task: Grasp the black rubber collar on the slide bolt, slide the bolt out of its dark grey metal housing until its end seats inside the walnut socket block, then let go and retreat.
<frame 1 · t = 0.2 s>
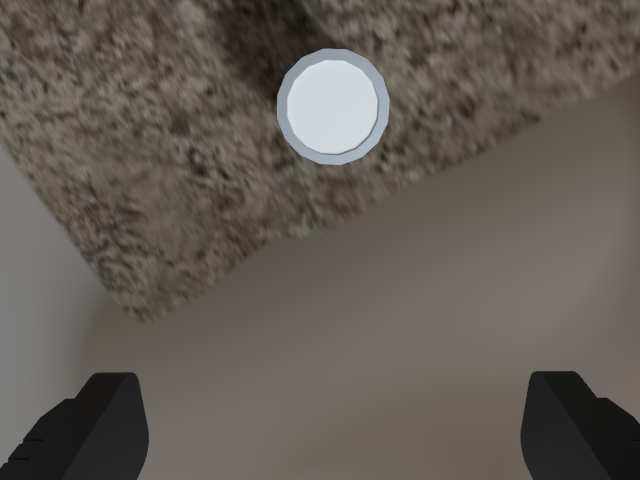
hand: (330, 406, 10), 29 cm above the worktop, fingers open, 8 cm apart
shot glass: (332, 99, 35), on the worktop
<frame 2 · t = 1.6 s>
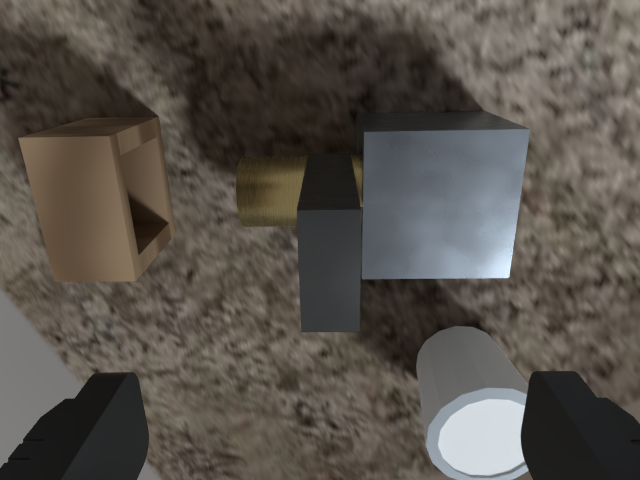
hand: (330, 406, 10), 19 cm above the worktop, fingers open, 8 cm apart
shot glass: (457, 359, 32), on the worktop
housing: (416, 174, 27), on the worktop
socket block: (133, 178, 28), on the worktop
slide bolt: (375, 215, 21), point 7 cm above the worktop, slide at 0.0 cm
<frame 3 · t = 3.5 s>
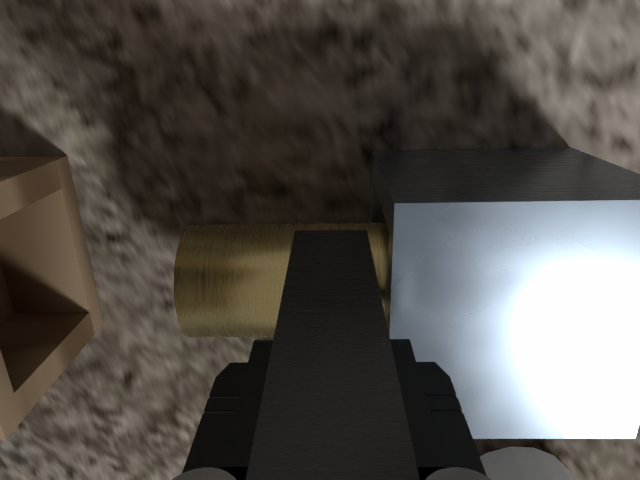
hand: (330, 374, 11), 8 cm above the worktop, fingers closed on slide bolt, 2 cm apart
housing: (461, 240, 18), on the worktop
socket block: (35, 246, 19), on the worktop
slide bolt: (414, 351, 12), point 7 cm above the worktop, slide at 0.0 cm, touching gripper
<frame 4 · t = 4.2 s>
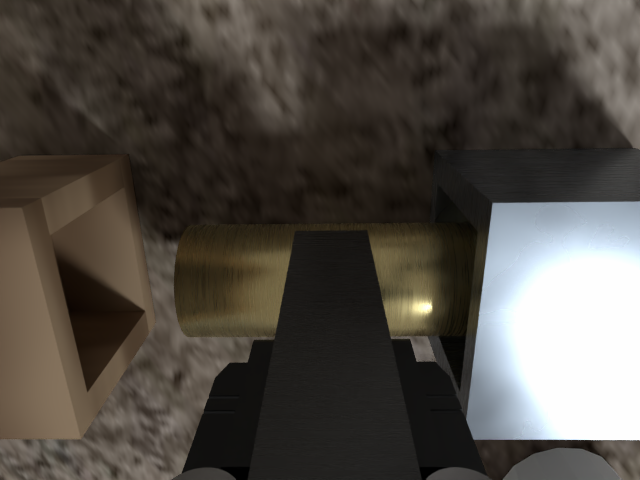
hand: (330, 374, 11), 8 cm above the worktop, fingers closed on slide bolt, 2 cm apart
housing: (520, 241, 18), on the worktop
socket block: (92, 244, 18), on the worktop
slide bolt: (414, 351, 12), point 7 cm above the worktop, slide at 2.2 cm, touching gripper
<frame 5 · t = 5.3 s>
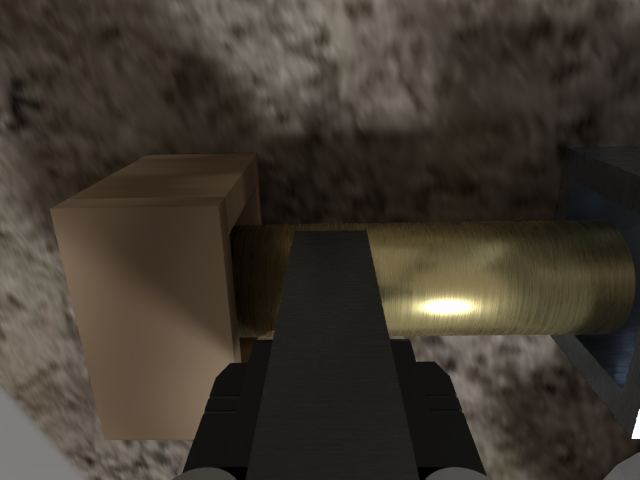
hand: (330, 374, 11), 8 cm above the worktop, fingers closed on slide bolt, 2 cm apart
socket block: (211, 244, 18), on the worktop
slide bolt: (414, 351, 12), point 7 cm above the worktop, slide at 6.9 cm, touching gripper
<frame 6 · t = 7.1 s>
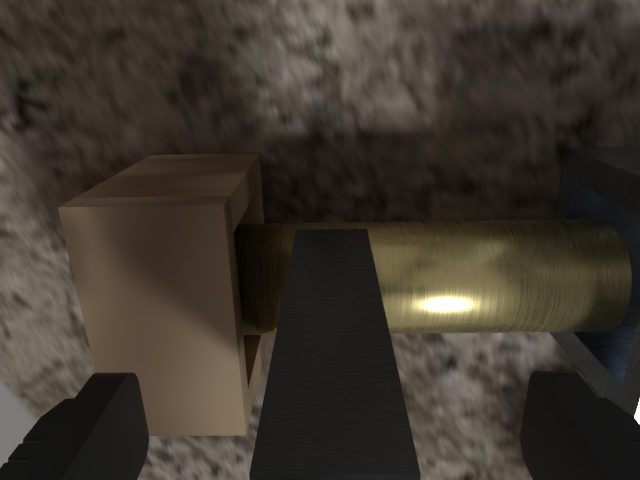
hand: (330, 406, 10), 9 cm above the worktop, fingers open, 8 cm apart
socket block: (215, 243, 19), on the worktop
slide bolt: (414, 347, 12), point 7 cm above the worktop, slide at 6.9 cm
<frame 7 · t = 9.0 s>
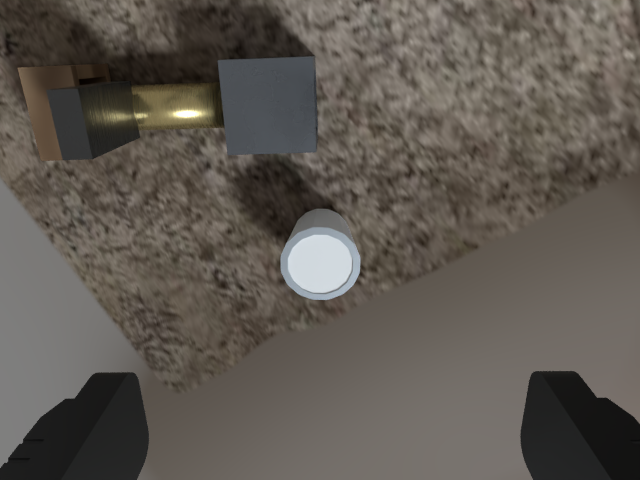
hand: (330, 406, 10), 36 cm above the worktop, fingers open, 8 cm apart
shot glass: (321, 234, 47), on the worktop
housing: (277, 99, 42), on the worktop
socket block: (93, 106, 43), on the worktop
slide bolt: (135, 113, 36), point 7 cm above the worktop, slide at 6.9 cm
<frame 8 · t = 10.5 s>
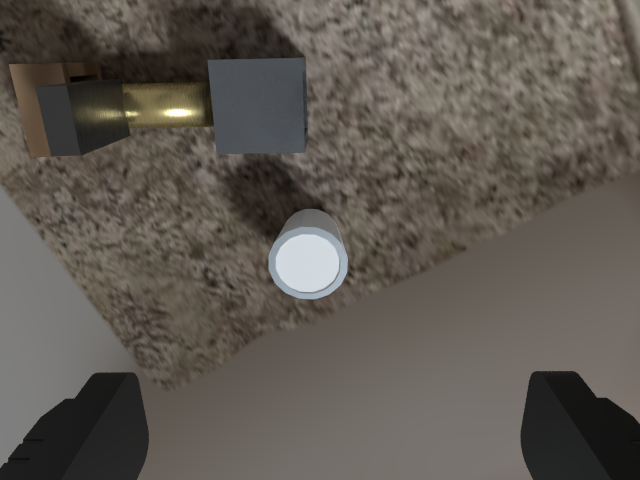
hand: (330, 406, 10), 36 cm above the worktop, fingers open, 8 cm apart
shot glass: (311, 234, 47), on the worktop
housing: (267, 100, 42), on the worktop
socket block: (85, 103, 43), on the worktop
slide bolt: (125, 111, 36), point 7 cm above the worktop, slide at 6.9 cm
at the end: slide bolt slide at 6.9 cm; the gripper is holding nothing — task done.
